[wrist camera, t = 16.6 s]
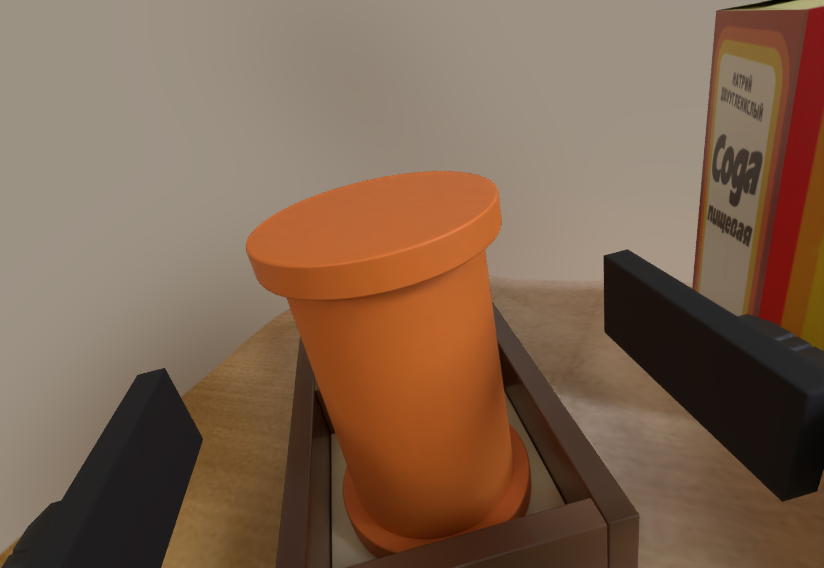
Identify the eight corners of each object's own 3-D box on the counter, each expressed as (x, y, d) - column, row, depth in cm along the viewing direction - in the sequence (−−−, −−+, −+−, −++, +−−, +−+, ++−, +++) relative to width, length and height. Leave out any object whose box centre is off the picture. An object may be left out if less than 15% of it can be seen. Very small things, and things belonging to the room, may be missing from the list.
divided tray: (306, 686, 15) (268, 622, 13) (318, 336, 33) (304, 293, 32) (637, 587, 15) (640, 515, 14) (467, 299, 34) (460, 254, 32)
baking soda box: (943, 439, 18) (1165, -77, 11) (740, 428, 20) (811, -7, 13) (826, 307, 26) (909, -39, 18) (690, 310, 28) (717, 1, 21)
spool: (352, 601, 16) (219, 295, 10) (345, 440, 23) (262, 204, 17) (566, 539, 16) (542, 215, 11) (495, 400, 23) (460, 157, 18)
